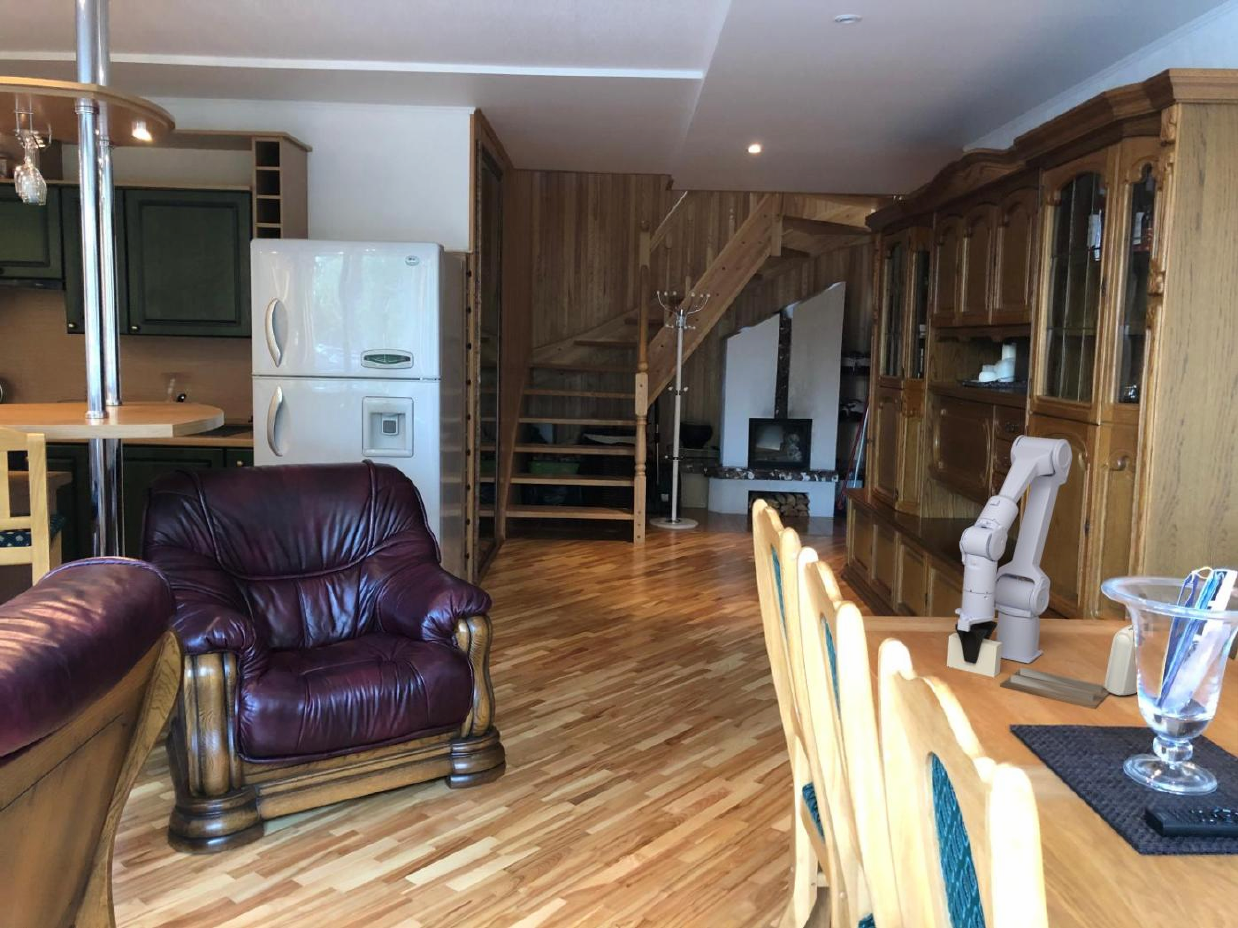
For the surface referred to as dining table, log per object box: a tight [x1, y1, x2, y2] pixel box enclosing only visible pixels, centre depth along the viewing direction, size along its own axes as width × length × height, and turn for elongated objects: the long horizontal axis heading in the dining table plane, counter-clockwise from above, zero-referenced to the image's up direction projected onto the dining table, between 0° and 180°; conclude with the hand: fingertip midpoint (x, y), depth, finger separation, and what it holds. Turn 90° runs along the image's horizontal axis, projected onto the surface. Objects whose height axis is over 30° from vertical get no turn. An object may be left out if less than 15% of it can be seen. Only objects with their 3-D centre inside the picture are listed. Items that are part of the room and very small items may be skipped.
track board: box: [999, 667, 1111, 710], centre depth 177 cm, size 12×16×2 cm
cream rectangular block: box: [946, 632, 1002, 678], centre depth 186 cm, size 3×9×6 cm, turn 51°
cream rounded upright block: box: [1103, 624, 1136, 696], centre depth 176 cm, size 10×4×12 cm, turn 123°
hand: (973, 659), depth 186 cm, fingers closed on cream rectangular block, 3 cm apart
